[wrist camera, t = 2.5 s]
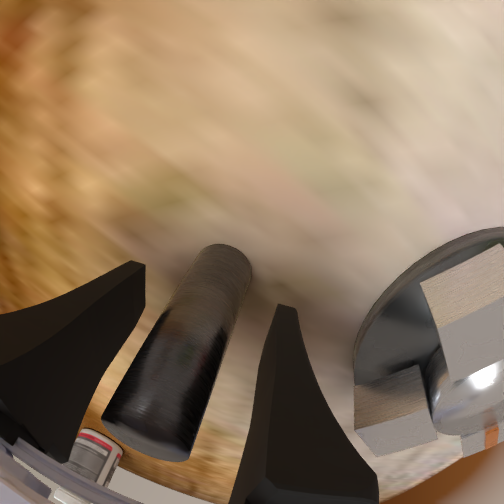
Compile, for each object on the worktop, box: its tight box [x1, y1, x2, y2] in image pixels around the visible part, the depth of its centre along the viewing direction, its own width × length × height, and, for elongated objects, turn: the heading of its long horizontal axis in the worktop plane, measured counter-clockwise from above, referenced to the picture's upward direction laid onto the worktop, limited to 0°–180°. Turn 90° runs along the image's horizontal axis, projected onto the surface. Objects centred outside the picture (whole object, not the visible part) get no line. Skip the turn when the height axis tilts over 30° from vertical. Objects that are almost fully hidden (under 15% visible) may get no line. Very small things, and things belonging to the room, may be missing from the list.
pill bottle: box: [54, 429, 123, 504], centre depth 24 cm, size 5×5×10 cm
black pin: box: [101, 244, 252, 462], centre depth 10 cm, size 2×2×8 cm
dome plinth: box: [353, 227, 504, 386], centre depth 13 cm, size 13×13×1 cm
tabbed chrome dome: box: [354, 243, 504, 457], centre depth 11 cm, size 13×13×3 cm
